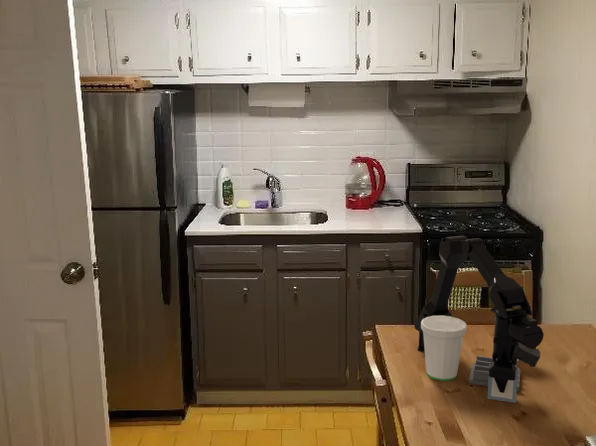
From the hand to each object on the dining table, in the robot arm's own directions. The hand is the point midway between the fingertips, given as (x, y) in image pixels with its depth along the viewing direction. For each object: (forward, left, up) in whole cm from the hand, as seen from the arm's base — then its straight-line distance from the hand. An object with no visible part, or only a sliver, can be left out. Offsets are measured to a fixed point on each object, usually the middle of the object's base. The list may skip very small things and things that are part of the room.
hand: (502, 390), depth 167 cm
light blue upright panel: (0, 0, -3) cm, 3 cm away
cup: (-17, +10, -3) cm, 20 cm away
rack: (-2, +12, -2) cm, 13 cm away
